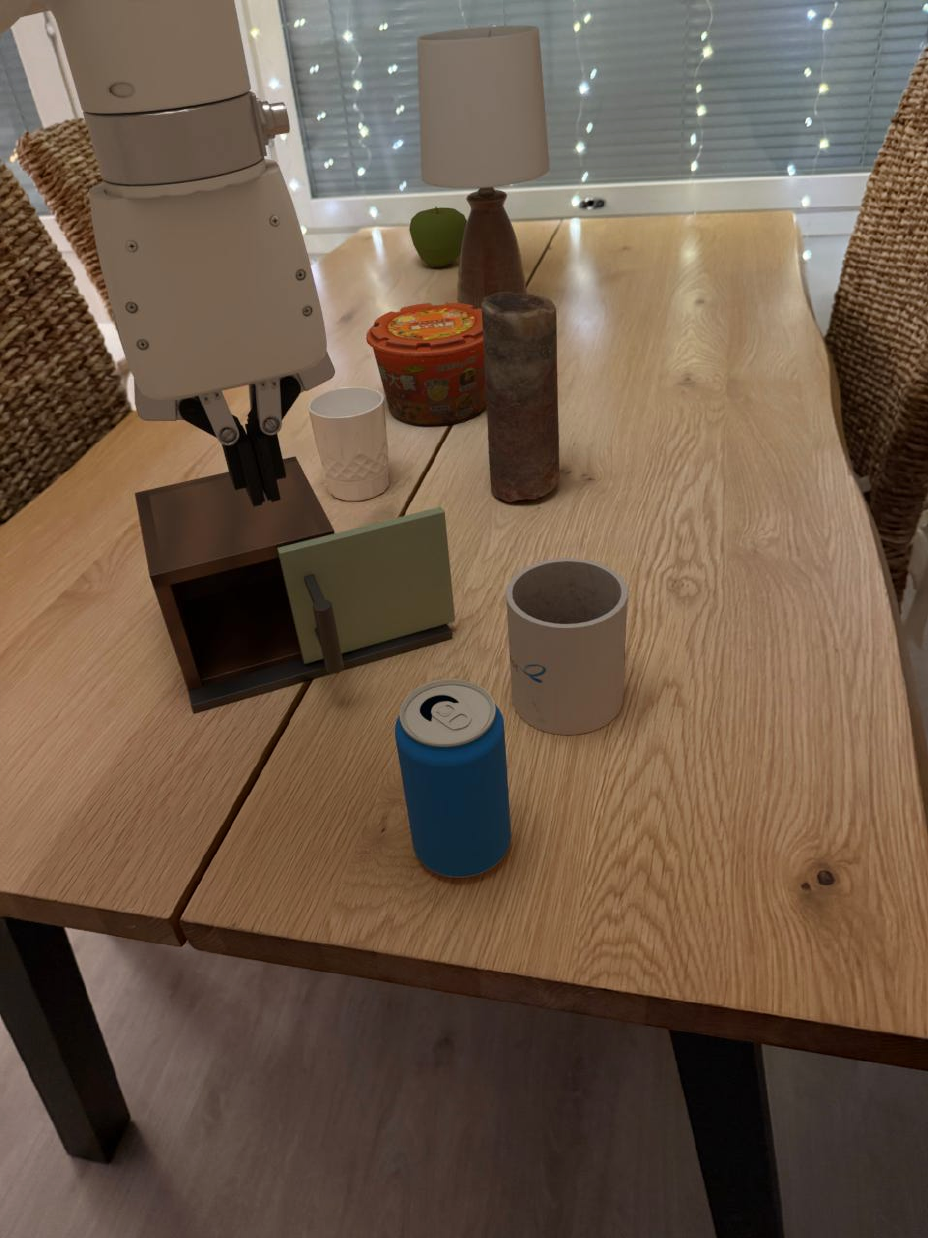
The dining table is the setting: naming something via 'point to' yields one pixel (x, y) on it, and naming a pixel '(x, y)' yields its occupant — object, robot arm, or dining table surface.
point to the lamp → (483, 140)
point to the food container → (431, 362)
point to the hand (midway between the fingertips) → (262, 492)
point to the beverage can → (454, 776)
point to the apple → (438, 235)
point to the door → (368, 585)
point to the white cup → (351, 441)
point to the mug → (567, 644)
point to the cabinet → (238, 585)
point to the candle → (521, 394)
